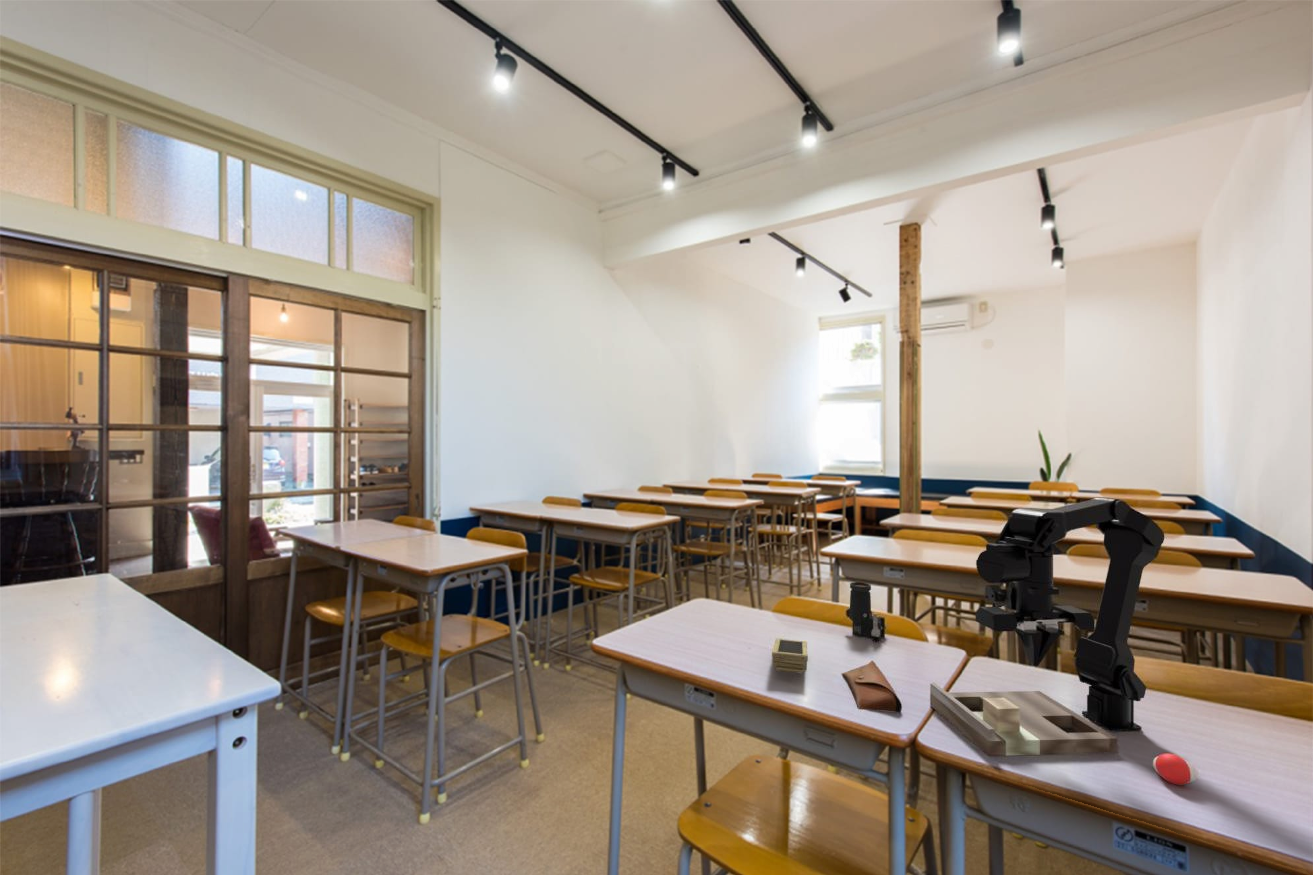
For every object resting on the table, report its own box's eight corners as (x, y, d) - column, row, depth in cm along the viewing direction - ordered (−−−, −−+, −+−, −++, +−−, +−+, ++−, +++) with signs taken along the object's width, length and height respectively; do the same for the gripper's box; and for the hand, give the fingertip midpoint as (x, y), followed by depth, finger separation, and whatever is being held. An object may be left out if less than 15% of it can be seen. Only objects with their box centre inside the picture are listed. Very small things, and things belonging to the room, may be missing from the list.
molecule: (1163, 786, 85) (1163, 759, 85) (1148, 769, 90) (1148, 743, 90) (1204, 794, 84) (1204, 766, 84) (1187, 776, 88) (1187, 750, 88)
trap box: (1039, 703, 113) (1039, 681, 113) (1117, 752, 95) (1117, 726, 95) (930, 705, 111) (930, 682, 111) (988, 755, 93) (988, 729, 93)
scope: (878, 591, 145) (840, 584, 152) (877, 644, 145) (840, 635, 152) (887, 585, 152) (851, 579, 158) (887, 635, 151) (851, 627, 158)
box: (771, 675, 122) (772, 652, 122) (773, 655, 143) (773, 635, 144) (810, 680, 120) (810, 656, 120) (806, 659, 141) (806, 638, 142)
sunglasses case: (838, 671, 127) (853, 647, 127) (865, 689, 126) (881, 664, 126) (858, 709, 109) (876, 681, 109) (889, 730, 108) (908, 702, 108)
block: (1004, 719, 101) (1004, 697, 101) (1019, 731, 97) (1019, 708, 97) (983, 720, 101) (983, 698, 101) (997, 731, 97) (997, 708, 97)
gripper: (1048, 568, 109) (1048, 647, 109) (957, 569, 107) (957, 649, 107) (1097, 582, 98) (1097, 671, 97) (996, 584, 96) (996, 673, 96)
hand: (1034, 665), depth 100 cm, fingers closed
